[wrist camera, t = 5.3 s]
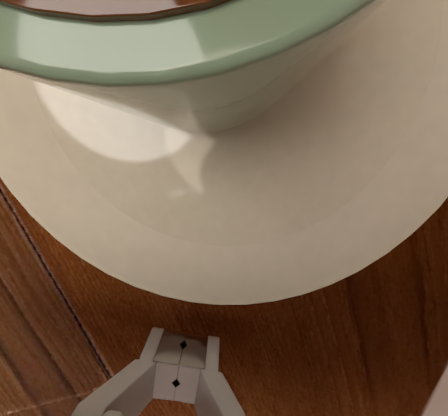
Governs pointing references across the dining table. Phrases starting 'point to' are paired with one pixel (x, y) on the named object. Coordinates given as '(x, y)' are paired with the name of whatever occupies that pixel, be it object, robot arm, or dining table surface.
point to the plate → (247, 171)
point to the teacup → (176, 52)
